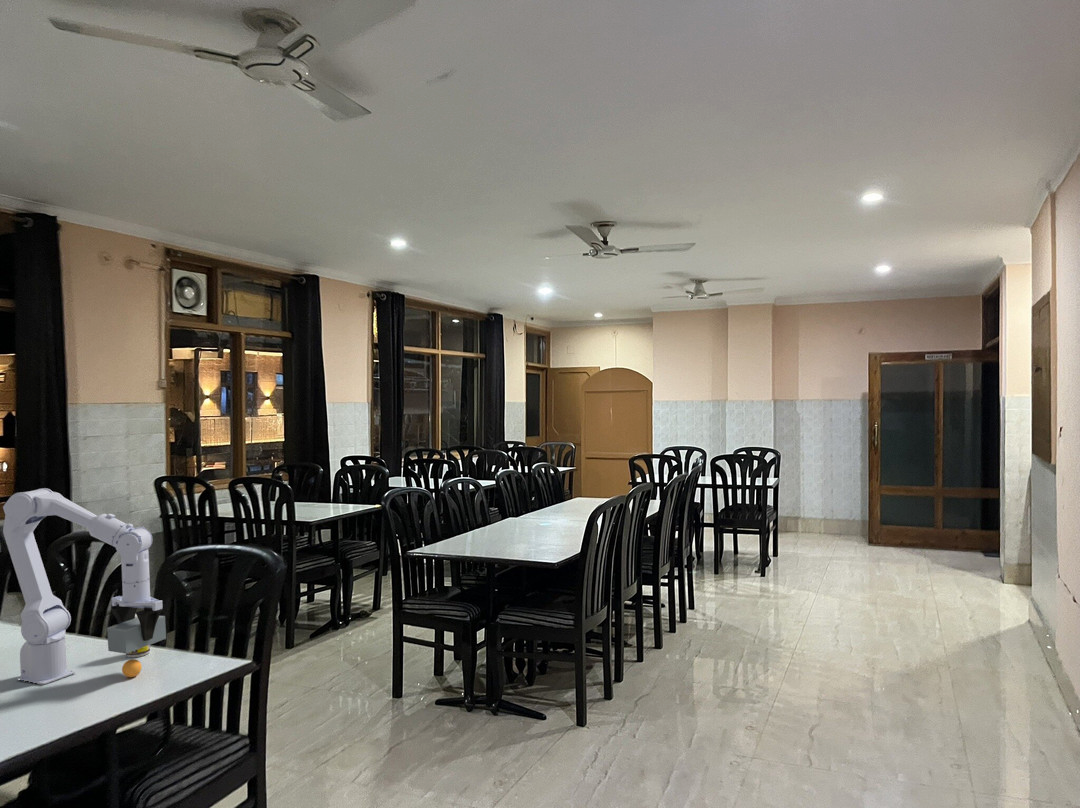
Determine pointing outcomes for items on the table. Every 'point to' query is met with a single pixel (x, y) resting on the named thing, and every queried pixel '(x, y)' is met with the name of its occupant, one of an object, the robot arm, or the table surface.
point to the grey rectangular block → (133, 635)
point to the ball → (131, 668)
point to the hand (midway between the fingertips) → (138, 638)
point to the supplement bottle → (139, 650)
